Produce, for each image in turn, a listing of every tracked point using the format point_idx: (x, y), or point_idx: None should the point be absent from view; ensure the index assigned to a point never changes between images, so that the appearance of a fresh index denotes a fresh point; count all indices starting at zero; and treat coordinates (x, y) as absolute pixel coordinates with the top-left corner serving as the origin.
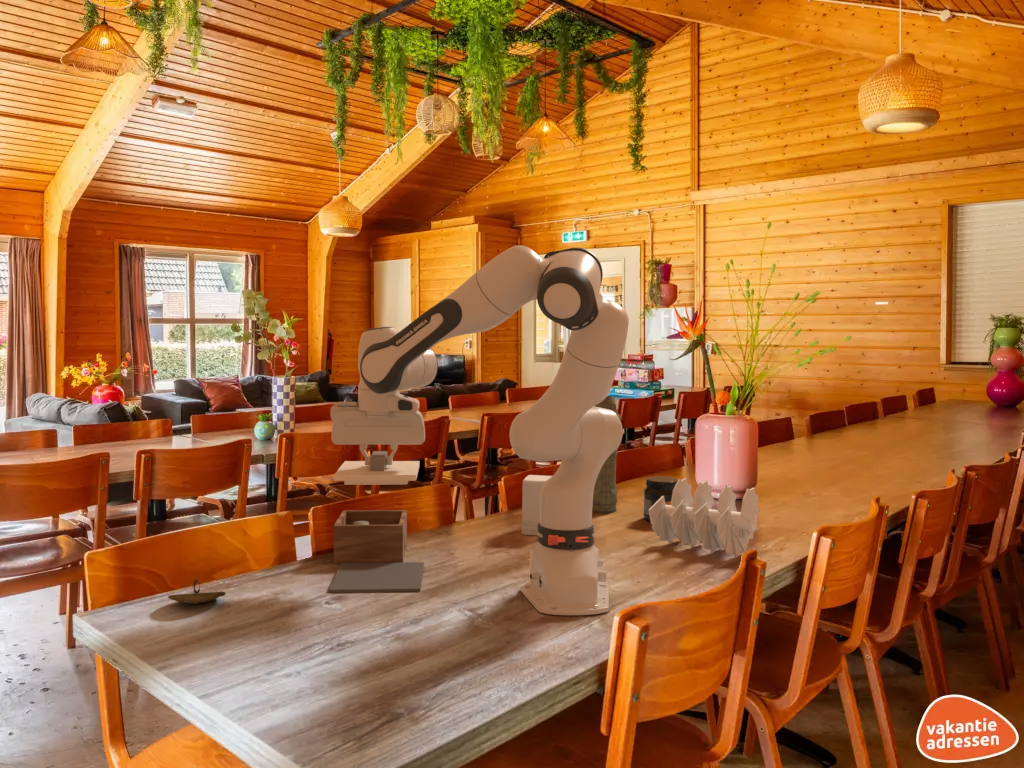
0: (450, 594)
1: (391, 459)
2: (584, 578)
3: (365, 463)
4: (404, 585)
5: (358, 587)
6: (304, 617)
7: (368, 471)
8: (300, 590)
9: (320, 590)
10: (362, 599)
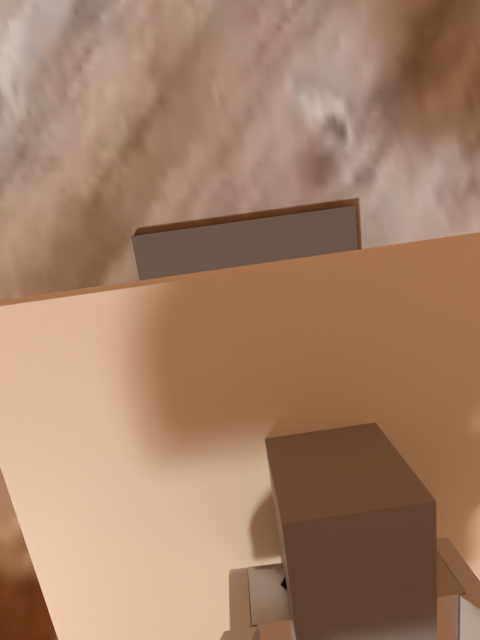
0: (52, 221)
1: (233, 605)
2: None
3: (446, 541)
4: (176, 255)
5: (286, 229)
6: (372, 9)
7: (385, 407)
8: (422, 216)
9: (375, 221)
10: (260, 162)
